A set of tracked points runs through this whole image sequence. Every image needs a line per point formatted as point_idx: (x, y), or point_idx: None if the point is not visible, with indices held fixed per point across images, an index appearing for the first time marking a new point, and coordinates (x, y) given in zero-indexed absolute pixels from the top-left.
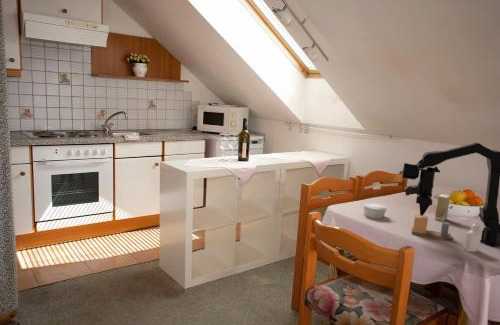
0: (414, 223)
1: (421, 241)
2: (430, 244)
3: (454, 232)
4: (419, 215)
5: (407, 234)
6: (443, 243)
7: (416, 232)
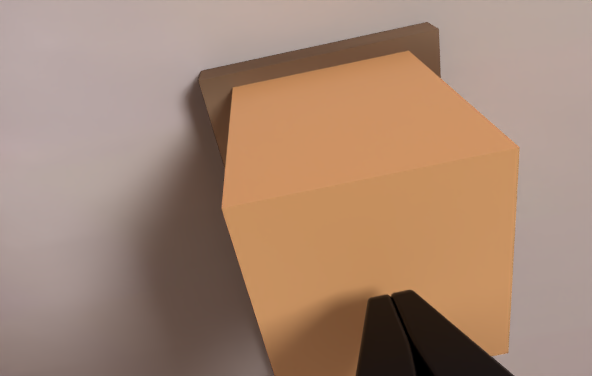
0: (231, 146)
1: (23, 227)
2: (21, 308)
3: (587, 367)
4: (459, 242)
5: (134, 25)
6: (173, 371)
7: (226, 137)
